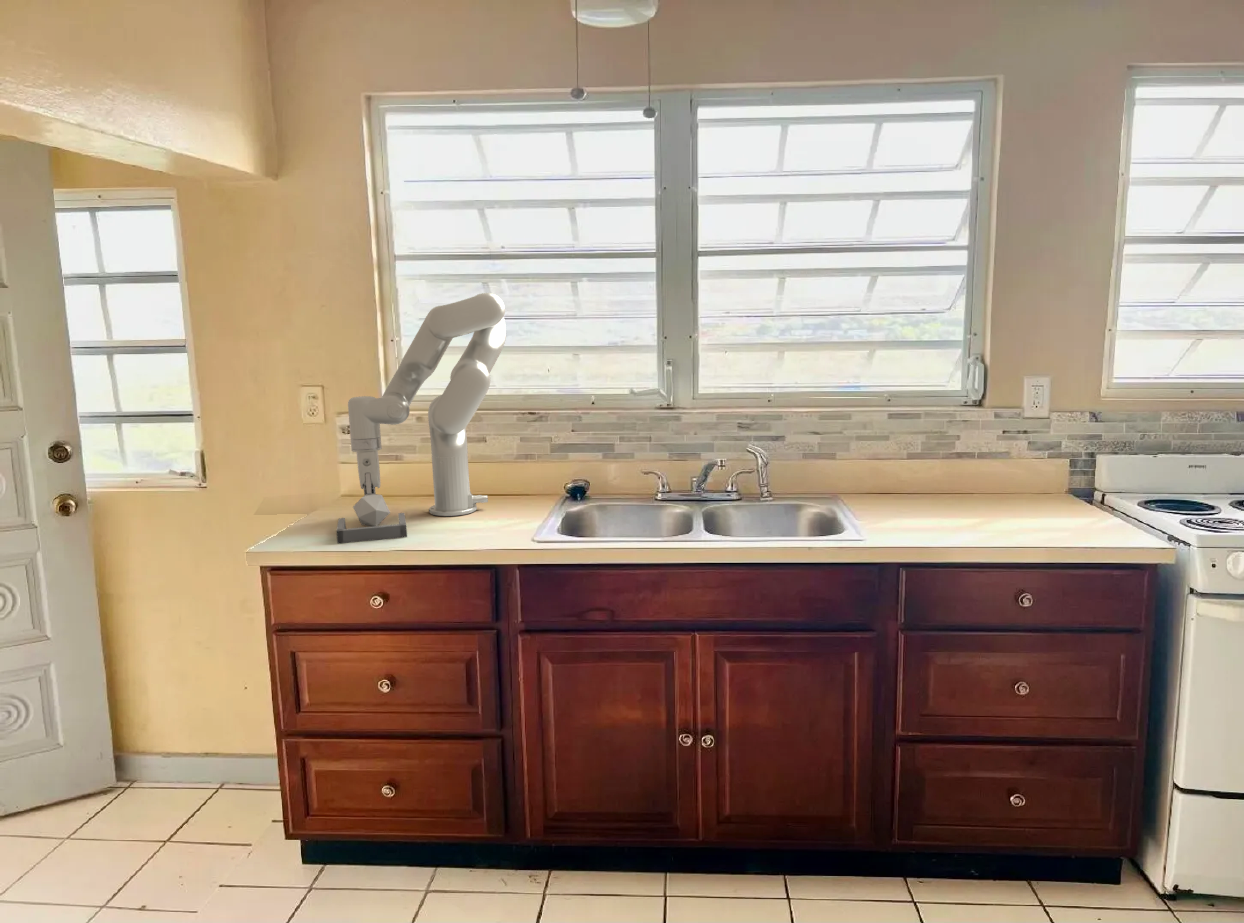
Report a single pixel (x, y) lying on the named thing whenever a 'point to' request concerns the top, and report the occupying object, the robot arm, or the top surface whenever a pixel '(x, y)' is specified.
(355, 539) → the bay
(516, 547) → the top surface
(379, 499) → the die
